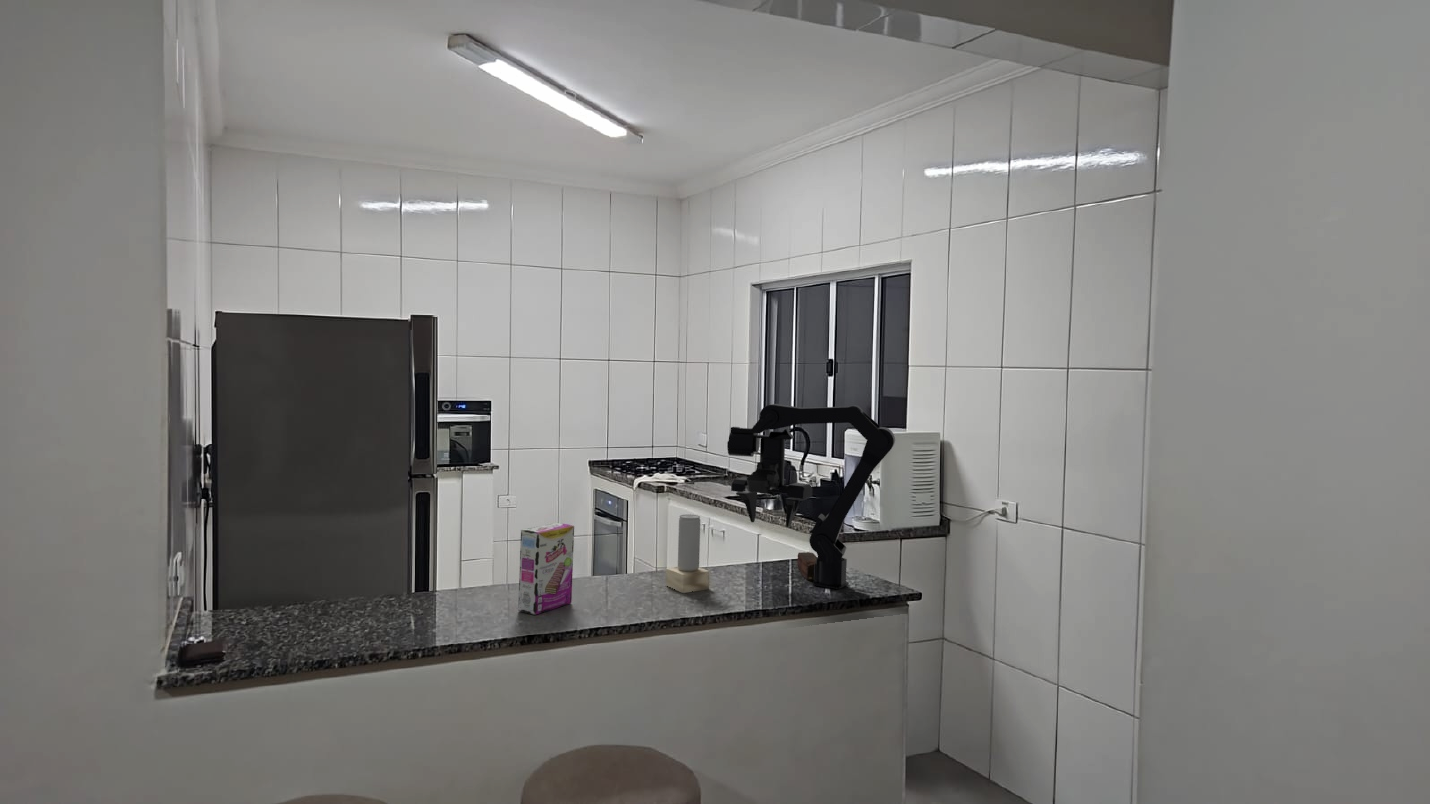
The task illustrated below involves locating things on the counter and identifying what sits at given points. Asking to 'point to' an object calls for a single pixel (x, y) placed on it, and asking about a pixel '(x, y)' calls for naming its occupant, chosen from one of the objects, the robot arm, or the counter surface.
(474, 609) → the counter surface
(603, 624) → the counter surface
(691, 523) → the beverage can
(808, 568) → the brick
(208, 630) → the counter surface
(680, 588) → the maple block
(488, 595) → the counter surface
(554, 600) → the candy bar box
